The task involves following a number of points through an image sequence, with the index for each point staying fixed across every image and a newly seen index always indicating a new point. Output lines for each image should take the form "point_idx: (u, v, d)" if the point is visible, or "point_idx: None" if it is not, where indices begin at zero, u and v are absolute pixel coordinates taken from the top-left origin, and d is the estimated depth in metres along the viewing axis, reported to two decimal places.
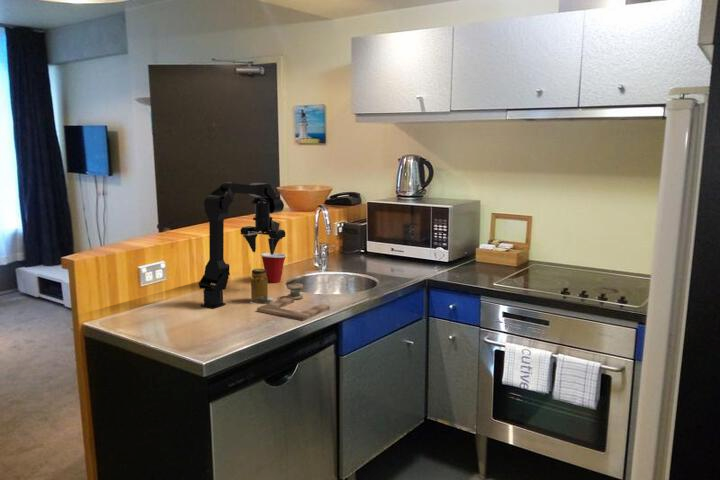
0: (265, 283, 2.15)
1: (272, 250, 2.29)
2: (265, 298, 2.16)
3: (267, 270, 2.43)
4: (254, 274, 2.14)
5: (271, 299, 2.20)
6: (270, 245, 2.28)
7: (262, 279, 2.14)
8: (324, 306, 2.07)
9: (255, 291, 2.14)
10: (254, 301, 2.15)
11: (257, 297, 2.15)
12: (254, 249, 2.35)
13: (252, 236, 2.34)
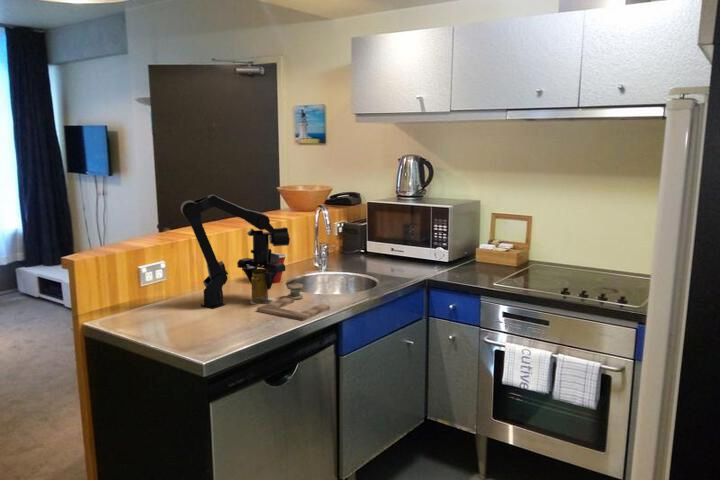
0: (265, 283, 2.15)
1: (269, 285, 2.14)
2: (265, 298, 2.16)
3: (267, 270, 2.43)
4: (254, 274, 2.14)
5: (271, 299, 2.20)
6: (267, 280, 2.12)
7: (262, 279, 2.14)
8: (324, 306, 2.07)
9: (256, 291, 2.14)
10: (254, 301, 2.15)
11: (257, 297, 2.14)
12: None
13: (252, 269, 2.18)
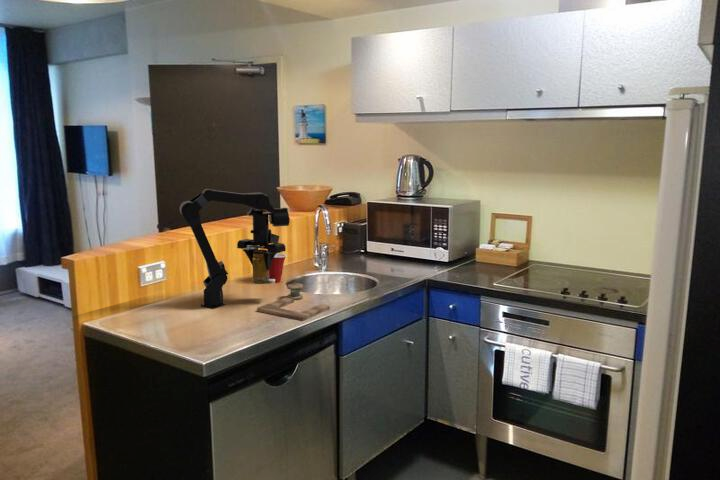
0: None
1: (268, 265, 2.13)
2: (267, 279, 2.15)
3: None
4: (255, 254, 2.12)
5: (272, 280, 2.18)
6: (266, 260, 2.11)
7: (264, 260, 2.12)
8: (324, 306, 2.07)
9: (257, 271, 2.13)
10: (256, 282, 2.14)
11: (258, 278, 2.13)
12: None
13: (253, 250, 2.16)
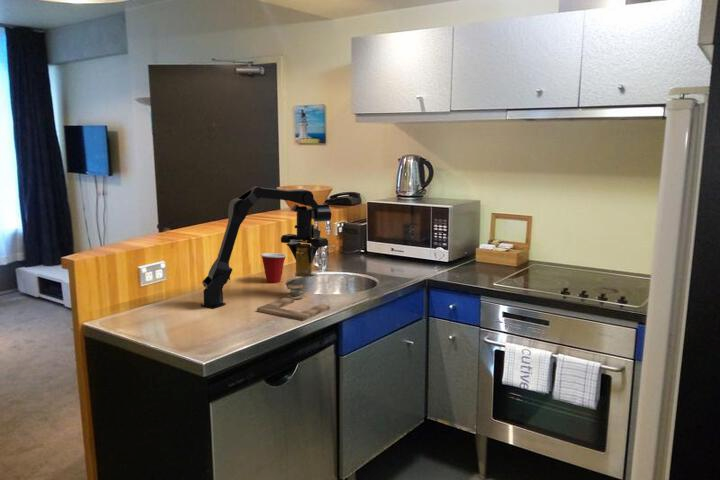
0: None
1: (311, 259, 2.22)
2: (309, 272, 2.24)
3: (267, 270, 2.43)
4: (299, 248, 2.22)
5: (314, 273, 2.27)
6: (309, 253, 2.21)
7: (307, 253, 2.22)
8: (324, 306, 2.07)
9: (300, 265, 2.22)
10: (299, 275, 2.23)
11: (302, 271, 2.22)
12: None
13: (296, 244, 2.26)
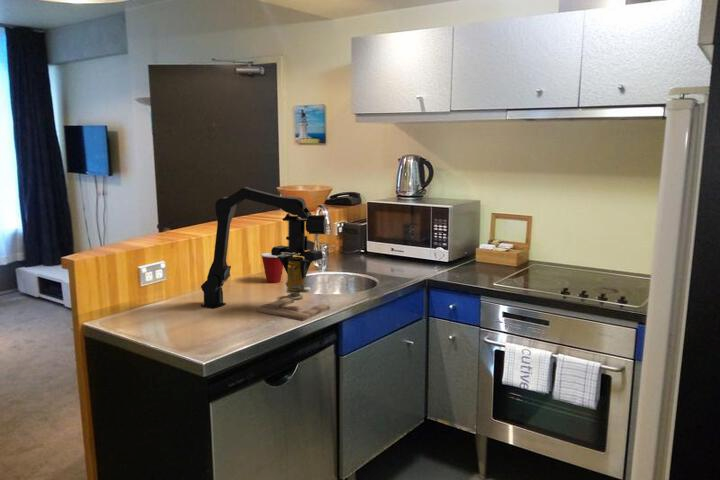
0: None
1: (304, 273, 2.04)
2: (302, 287, 2.05)
3: (267, 270, 2.43)
4: (291, 262, 2.03)
5: (308, 289, 2.09)
6: (302, 268, 2.02)
7: (300, 267, 2.03)
8: (324, 306, 2.07)
9: (292, 280, 2.04)
10: (291, 290, 2.05)
11: (294, 286, 2.04)
12: None
13: (288, 257, 2.07)
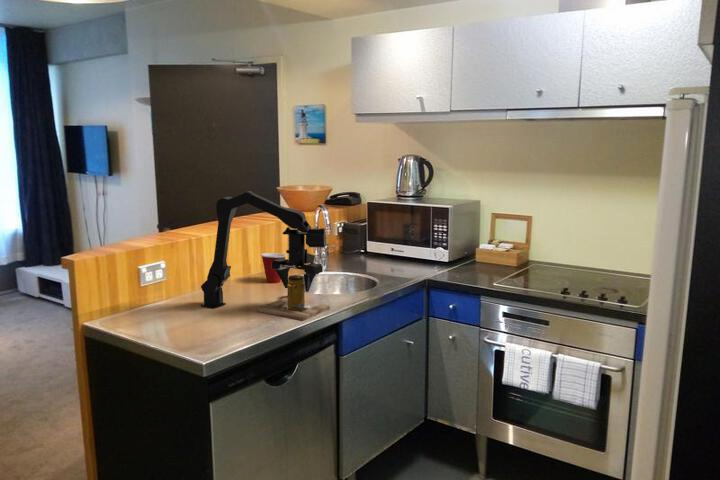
0: (302, 290, 2.06)
1: (308, 287, 2.04)
2: (302, 306, 2.07)
3: (267, 270, 2.43)
4: (291, 281, 2.04)
5: (307, 307, 2.10)
6: (306, 281, 2.02)
7: (299, 286, 2.04)
8: (324, 306, 2.07)
9: (292, 299, 2.05)
10: (291, 309, 2.06)
11: (294, 305, 2.05)
12: (286, 285, 2.09)
13: (285, 270, 2.09)
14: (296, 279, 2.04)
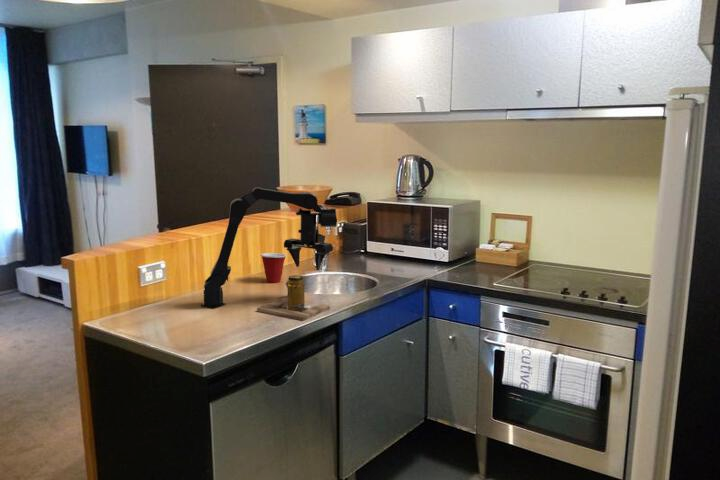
0: (302, 290, 2.06)
1: (318, 265, 2.13)
2: (302, 306, 2.07)
3: (267, 270, 2.43)
4: (291, 281, 2.04)
5: (307, 307, 2.10)
6: (316, 260, 2.12)
7: (299, 286, 2.04)
8: (324, 306, 2.07)
9: (292, 299, 2.05)
10: (291, 309, 2.06)
11: (294, 305, 2.05)
12: (298, 263, 2.19)
13: (296, 249, 2.18)
14: (296, 279, 2.04)
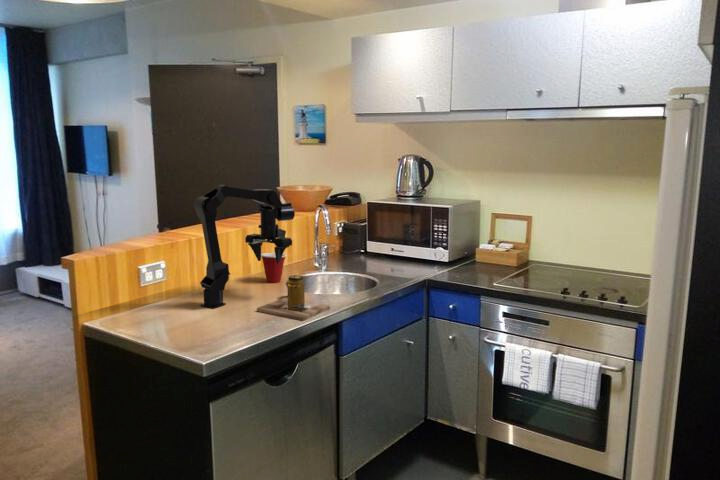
0: (302, 290, 2.06)
1: (278, 259, 2.20)
2: (302, 306, 2.07)
3: (267, 270, 2.43)
4: (291, 281, 2.04)
5: (307, 307, 2.10)
6: (276, 254, 2.19)
7: (299, 286, 2.04)
8: (324, 306, 2.07)
9: (292, 299, 2.05)
10: (291, 309, 2.06)
11: (294, 305, 2.05)
12: (259, 258, 2.26)
13: (258, 244, 2.25)
14: (296, 279, 2.04)
